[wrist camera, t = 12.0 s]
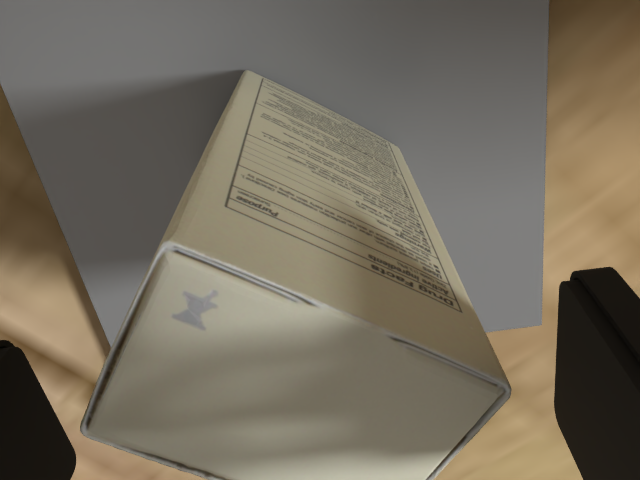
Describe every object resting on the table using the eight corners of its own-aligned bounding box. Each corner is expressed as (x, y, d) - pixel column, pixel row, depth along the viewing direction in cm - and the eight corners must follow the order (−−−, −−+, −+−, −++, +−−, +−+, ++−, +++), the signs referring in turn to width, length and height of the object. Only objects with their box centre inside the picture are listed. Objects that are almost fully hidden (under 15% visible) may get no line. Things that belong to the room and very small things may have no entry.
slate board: (537, -124, 17) (552, -129, 16) (531, 308, 24) (541, 325, 23) (-22, -19, 18) (-42, -17, 17) (132, 361, 26) (124, 379, 24)
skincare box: (195, 173, 20) (49, 435, 9) (245, 63, 18) (138, 225, 7) (351, 247, 21) (384, 550, 11) (412, 151, 20) (525, 397, 9)
